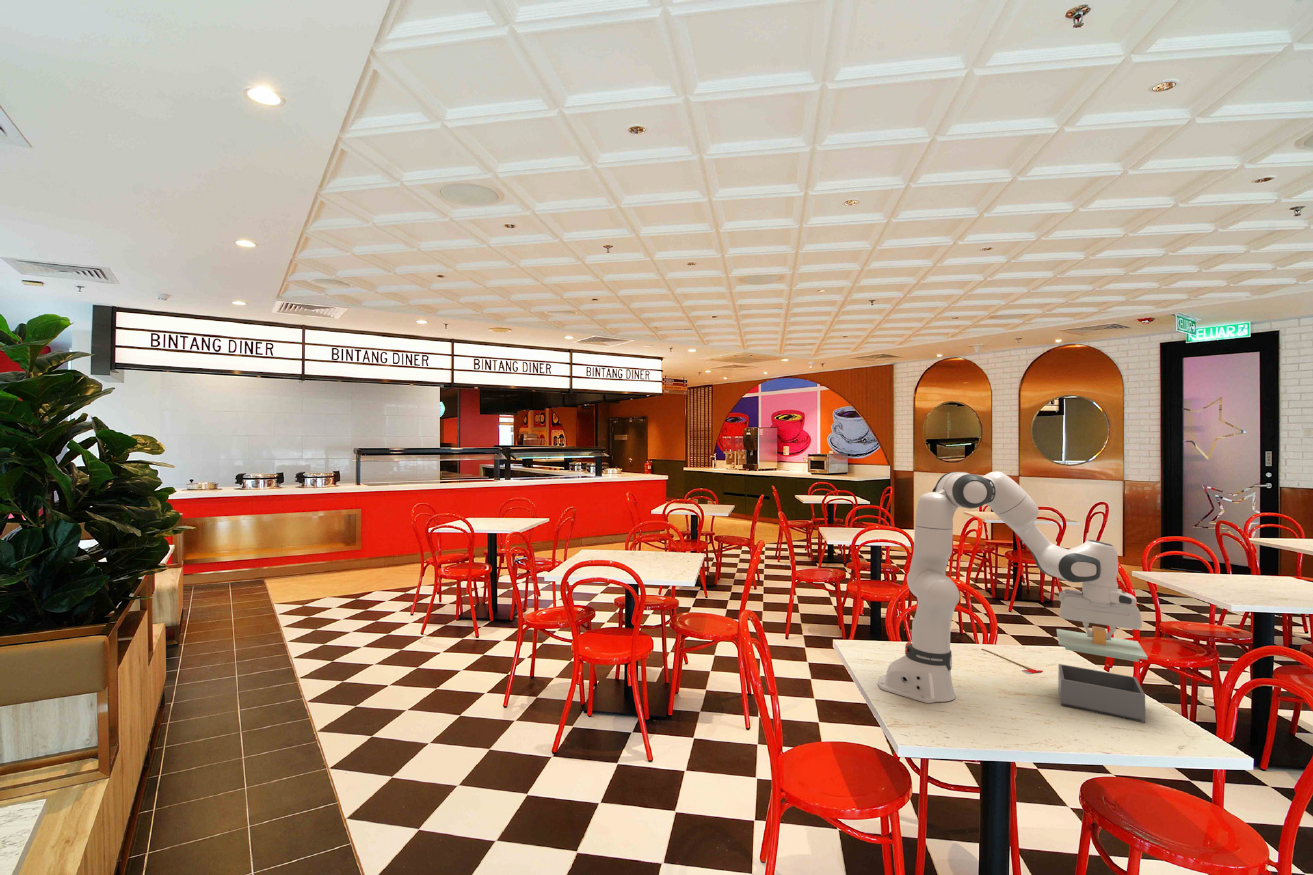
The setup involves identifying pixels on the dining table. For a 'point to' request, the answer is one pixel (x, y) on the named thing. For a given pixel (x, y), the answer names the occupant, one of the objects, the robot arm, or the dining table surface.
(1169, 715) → the dining table surface
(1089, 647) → the lid
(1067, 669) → the tub
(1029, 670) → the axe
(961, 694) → the dining table surface
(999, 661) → the dining table surface
